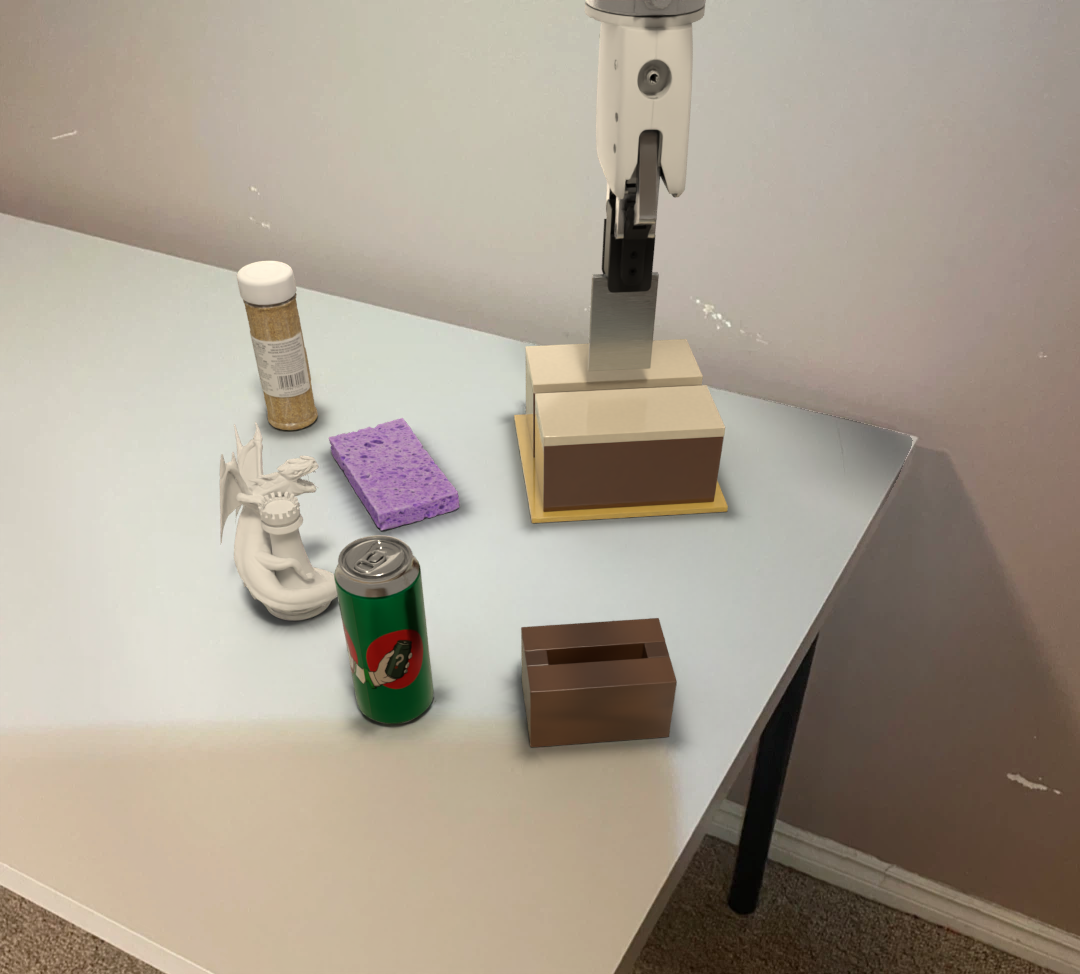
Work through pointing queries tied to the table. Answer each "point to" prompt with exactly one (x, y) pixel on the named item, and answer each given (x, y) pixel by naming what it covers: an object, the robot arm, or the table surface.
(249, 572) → the figurine
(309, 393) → the spice jar
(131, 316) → the table surface
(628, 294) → the knife
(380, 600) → the soda can
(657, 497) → the cake
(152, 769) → the table surface
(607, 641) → the knife stand
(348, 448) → the sponge
